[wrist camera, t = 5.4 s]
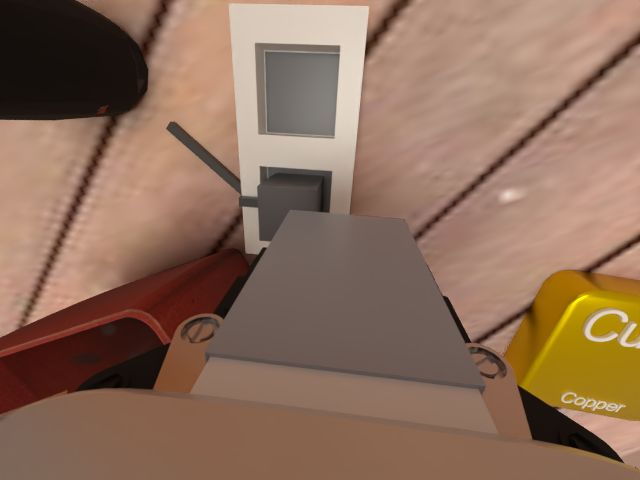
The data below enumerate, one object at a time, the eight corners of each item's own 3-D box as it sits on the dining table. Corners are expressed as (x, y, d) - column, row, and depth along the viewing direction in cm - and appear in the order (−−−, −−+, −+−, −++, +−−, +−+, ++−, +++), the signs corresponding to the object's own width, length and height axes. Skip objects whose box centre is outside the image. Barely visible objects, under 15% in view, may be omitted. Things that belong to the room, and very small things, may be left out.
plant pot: (251, 209, 29) (139, 308, 14) (318, 344, 36) (291, 514, 20) (116, 259, 34) (-82, 376, 18) (196, 371, 40) (99, 527, 25)
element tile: (493, 368, 35) (514, 404, 30) (549, 264, 29) (585, 290, 24) (617, 390, 34) (656, 430, 30) (702, 289, 28) (767, 320, 23)
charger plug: (404, 219, 12) (518, 450, 4) (386, 310, 14) (434, 583, 6) (290, 209, 12) (172, 404, 4) (289, 300, 14) (211, 544, 6)
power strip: (367, 20, 22) (372, -18, 16) (345, 249, 30) (343, 281, 24) (152, 15, 23) (82, -22, 17) (187, 235, 31) (147, 262, 25)
